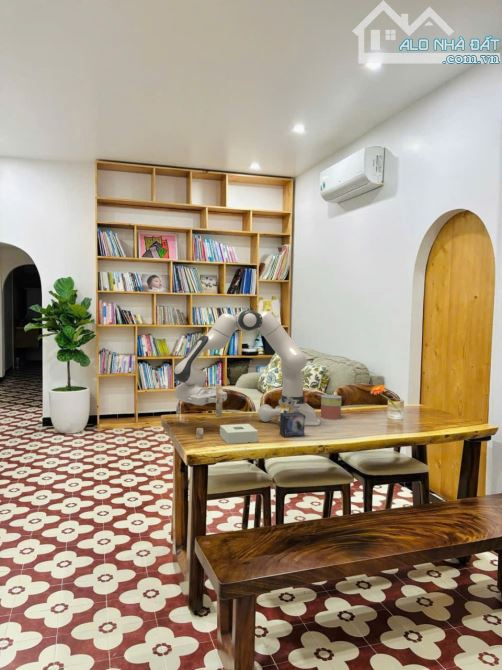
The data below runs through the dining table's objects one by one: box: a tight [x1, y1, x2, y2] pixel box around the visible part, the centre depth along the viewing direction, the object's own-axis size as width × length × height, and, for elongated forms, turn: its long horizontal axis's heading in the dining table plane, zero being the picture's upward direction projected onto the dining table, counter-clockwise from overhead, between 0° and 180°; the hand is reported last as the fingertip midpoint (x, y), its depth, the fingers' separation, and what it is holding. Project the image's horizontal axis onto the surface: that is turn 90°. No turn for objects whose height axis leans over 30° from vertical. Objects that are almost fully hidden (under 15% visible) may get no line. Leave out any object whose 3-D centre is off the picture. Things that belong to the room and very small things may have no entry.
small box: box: [278, 412, 305, 438], centre depth 229 cm, size 11×6×10 cm, turn 106°
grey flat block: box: [219, 423, 259, 445], centre depth 221 cm, size 14×14×5 cm
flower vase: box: [257, 394, 300, 423], centre depth 250 cm, size 13×18×25 cm
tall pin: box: [215, 386, 223, 418], centre depth 229 cm, size 3×3×14 cm
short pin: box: [195, 427, 204, 440], centre depth 220 cm, size 3×3×4 cm
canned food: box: [320, 394, 343, 421], centre depth 269 cm, size 11×11×12 cm
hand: (220, 400), depth 228 cm, fingers closed on tall pin, 3 cm apart
